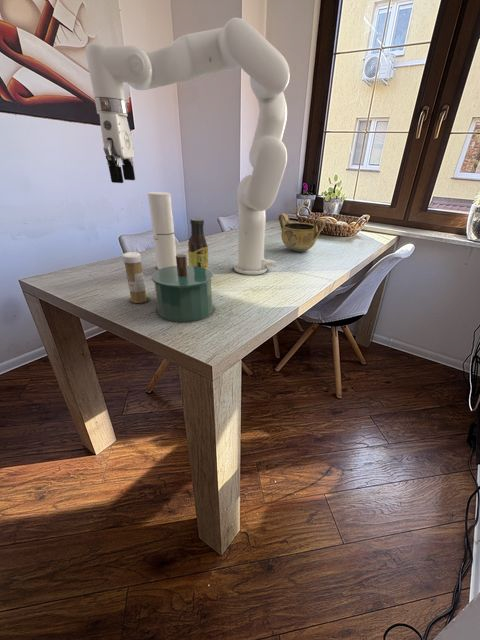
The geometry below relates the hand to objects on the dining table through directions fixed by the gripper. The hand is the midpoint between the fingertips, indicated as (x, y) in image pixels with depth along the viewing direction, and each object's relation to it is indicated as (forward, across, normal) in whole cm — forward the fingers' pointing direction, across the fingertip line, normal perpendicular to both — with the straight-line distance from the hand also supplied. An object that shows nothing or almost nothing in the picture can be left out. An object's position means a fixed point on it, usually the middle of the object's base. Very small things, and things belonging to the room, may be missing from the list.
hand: (124, 181), depth 92 cm
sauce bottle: (+29, -4, -21) cm, 36 cm away
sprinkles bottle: (+29, -21, -6) cm, 36 cm away
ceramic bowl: (+29, +44, -60) cm, 79 cm away
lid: (+19, -26, -21) cm, 38 cm away
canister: (+29, -26, -21) cm, 44 cm away
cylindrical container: (+29, +9, -7) cm, 31 cm away
